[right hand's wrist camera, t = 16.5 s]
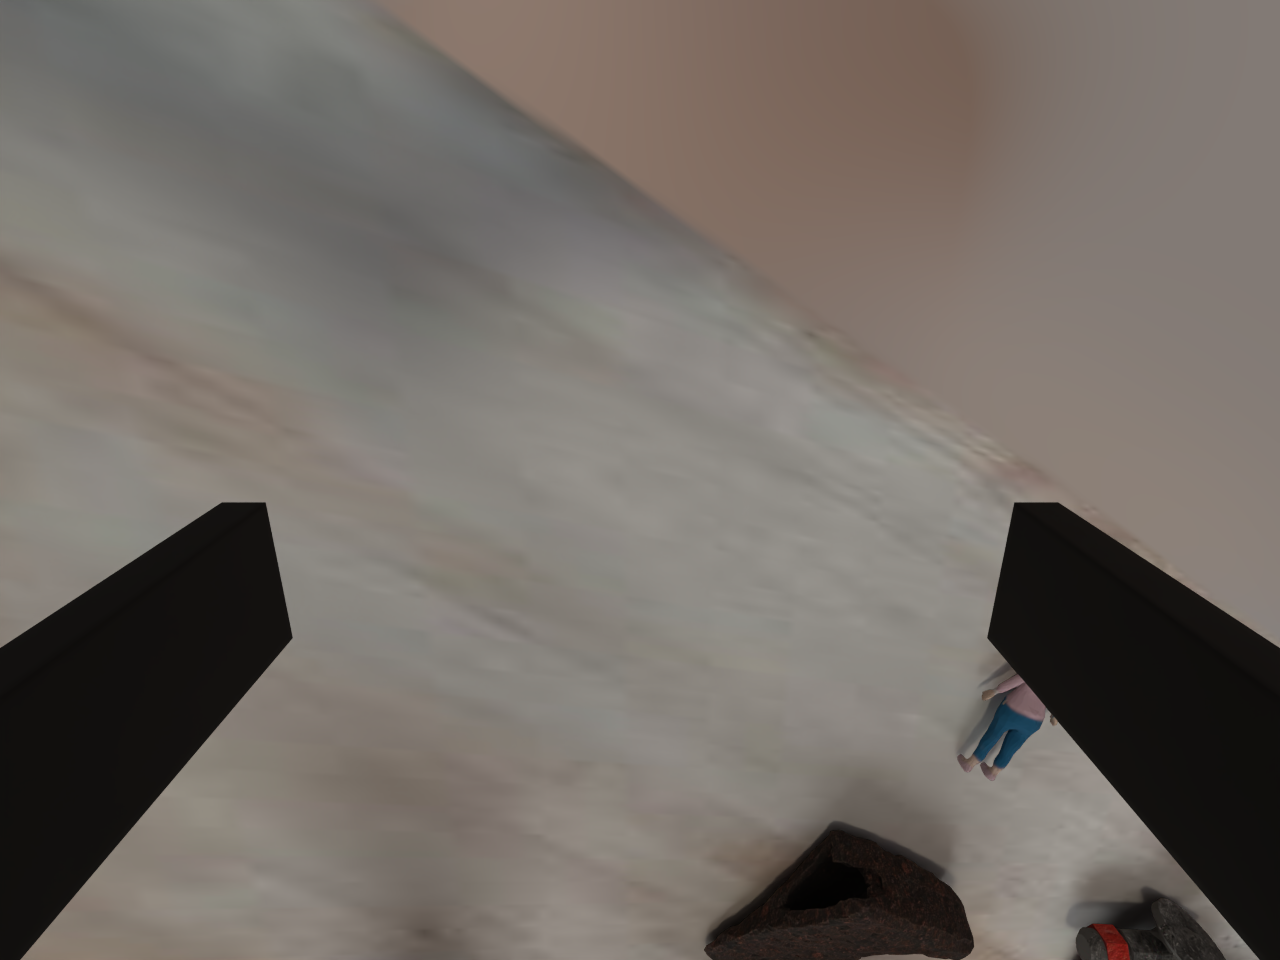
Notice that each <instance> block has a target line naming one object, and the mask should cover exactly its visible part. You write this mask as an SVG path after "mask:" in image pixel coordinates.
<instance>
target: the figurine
mask: <svg viewBox="0 0 1280 960" xmlns="http://www.w3.org/2000/svg"><path fill="white" fill-rule="evenodd" d="M1014 687H1016V689H1014V690H1013V691H1012V692H1011V693H1010V694H1008V695H1007V696H1006V697H1005V698H1004V700H1003V701H1002V703H1001V704H1000V706H999V707H998V709H997V711H996V713H995V716H994V719H993V721H992V722H991V724H990V726H989V728H988V730H987V731H986V733H985V734H984V735H983V737H982V738H981V740H980V742H979V745H978V746H977V748H976V750H975V751H974V753H973V754H972V756H971V757H970V758H969V759H966V758H965V757H964V756H963V755H961V754H960V755H958V757H957V759H958V761H959V764H960V765H961V767H962V768H963V769H964V771H965V772H970V771H971V770H972V768H973V767H974V765H976V764H978V763H980V762H981V761H982V760H983V759H984V758H985V757H986V755H987V753H988V752H989V751H990V750H991V748H992V747H993V746H994V745H995V744H996V743H997V741H998V740H999V739H1000V737H1001V736H1002V734H1003V733H1004V732H1005V731H1007V730H1009V731H1008V732H1007V734H1006V736H1005V738H1004V741H1003V744H1002V747H1001V750H1000V752H999V754H998V755H997V757H996V758H995V760H994V763H993V766H992V767H989V766H988V765H987V764H986V763H984V762H983V763H981V765H980V766H981V769H982V771H983V773H984V775H985V776H986V777H987V778H988V779H989V780H991V781H993V780H995V777H996V776H997V774H998V773H999V772H1000V771H1001V770H1002V769H1004V768H1005V767H1006V765H1007V764H1008V763H1009V761H1010V760H1011V758H1012V756H1013V754H1014V753H1015V752H1016V751H1017V750H1018V749H1019V748H1020V747H1021V746H1022V745H1023V743H1024V742H1025V741H1026V740H1027V739H1028V738H1029V737H1030V736H1031V735H1032V734H1033V733H1035V732H1036V731H1037V730H1039V728H1040V726H1041V724H1042V722H1043V720H1044V718H1045V708H1046V707H1045V705H1044V704H1043V703H1042V702H1041V701H1040V700H1039V698H1038V697H1037V696H1036V695H1035V694H1034V692H1033V691H1032V690H1031V689H1030V688H1029V687H1028V685H1027V684H1026V683H1025V682H1024V681H1023V679H1022V678H1021V677H1020V676H1019V675H1018V674H1016V675H1015V676H1013V677H1012V678H1010V679H1008V680H1006V681H1004V682H1002V683H1001V684H999V685H998V687H997V688H996V689H995V690H987V691H984V692H983V695H982V699H983V700H988V699H990V698H991V697H993V696H995V695H996V694H998V693H1002V692H1006V691H1008V690H1010V689H1012V688H1014ZM1050 718H1051V719H1050V722H1051V724H1052V725H1054V726H1055V725H1056V724H1057V723H1058V721H1057V720H1056V718H1055V717H1054V716H1053V715H1052V714H1051V716H1050Z"/></svg>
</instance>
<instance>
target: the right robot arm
mask: <svg viewBox="0 0 1280 960" xmlns="http://www.w3.org/2000/svg"><path fill="white" fill-rule="evenodd" d="M292 638H293V637H292V632H291V627H290V622H289V617H288V612H287V607H286V602H285V597H284V592H283V587H282V582H281V577H280V572H279V567H278V562H277V557H276V552H275V547H274V542H273V537H272V532H271V527H270V522H269V517H268V512H267V507H266V503H220V504H219V505H217V506H216V507H214V508H213V509H211V510H210V511H208V512H207V513H205V514H204V515H202V516H201V517H199V518H198V519H196V520H194V521H193V522H191V523H190V524H188V525H187V526H185V527H184V528H182V529H181V530H179V531H178V532H176V533H175V534H173V535H172V536H170V537H169V538H167V539H166V540H164V541H163V542H161V543H159V544H158V545H156V546H155V547H153V548H152V549H150V550H149V551H147V552H146V553H144V554H143V555H141V556H140V557H138V558H137V559H135V560H134V561H132V562H131V563H129V564H128V565H126V566H124V567H123V568H121V569H120V570H118V571H117V572H115V573H114V574H112V575H111V576H109V577H108V578H106V579H105V580H103V581H102V582H100V583H99V584H97V585H96V586H94V587H93V588H91V589H89V590H88V591H86V592H85V593H83V594H82V595H80V596H79V597H77V598H76V599H74V600H73V601H71V602H70V603H68V604H67V605H65V606H64V607H62V608H61V609H59V610H58V611H56V612H54V613H53V614H51V615H50V616H48V617H47V618H45V619H44V620H42V621H41V622H39V623H38V624H36V625H35V626H33V627H32V628H30V629H29V630H27V631H26V632H24V633H23V634H21V635H19V636H18V637H16V638H15V639H13V640H12V641H10V642H9V643H7V644H6V645H4V646H3V647H1V648H0V960H20V959H21V958H22V957H23V956H24V955H25V954H26V952H27V951H28V950H29V949H30V948H31V946H32V945H33V944H34V943H35V942H36V941H37V939H38V938H39V937H40V936H41V935H42V933H43V932H44V931H45V930H46V929H47V928H48V926H49V925H50V924H51V923H52V922H53V920H54V919H55V918H56V917H57V916H58V915H59V913H60V912H61V911H62V910H63V909H64V907H65V906H66V905H67V904H68V903H69V902H70V900H71V899H72V898H73V897H74V896H75V894H76V893H77V892H78V891H79V890H80V889H81V887H82V886H83V885H84V884H85V883H86V881H87V880H88V879H89V878H90V877H91V876H92V874H93V873H94V872H95V871H96V870H97V868H98V867H99V866H100V865H101V864H102V863H103V861H104V860H105V859H106V858H107V857H108V855H109V854H110V853H111V852H112V851H113V850H114V848H115V847H116V846H117V845H118V844H119V842H120V841H121V840H122V839H123V838H124V837H125V835H126V834H127V833H128V832H129V831H130V829H131V828H132V827H133V826H134V825H135V824H136V822H137V821H138V820H139V819H140V818H141V816H142V815H143V814H144V813H145V812H146V811H147V809H148V808H149V807H150V806H151V805H152V804H153V802H154V801H155V800H156V799H157V798H158V796H159V795H160V794H161V793H162V792H163V791H164V789H165V788H166V787H167V786H168V785H169V783H170V782H171V781H172V780H173V779H174V778H175V776H176V775H177V774H178V773H179V772H180V770H181V769H182V768H183V767H184V766H185V765H186V763H187V762H188V761H189V760H190V759H191V757H192V756H193V755H194V754H195V753H196V752H197V750H198V749H199V748H200V747H201V746H202V744H203V743H204V742H205V741H206V740H207V739H208V737H209V736H210V735H211V734H212V733H213V731H214V730H215V729H216V728H217V727H218V726H219V724H220V723H221V722H222V721H223V720H224V718H225V717H226V716H227V715H228V714H229V713H230V711H231V710H232V709H233V708H234V707H235V705H236V704H237V703H238V702H239V701H240V700H241V698H242V697H243V696H244V695H245V694H246V692H247V691H248V690H249V689H250V688H251V687H252V685H253V684H254V683H255V682H256V681H257V679H258V678H259V677H260V676H261V675H262V674H263V672H264V671H265V670H266V669H267V668H268V667H269V665H270V664H271V663H272V662H273V661H274V659H275V658H276V657H277V656H278V655H279V654H280V652H281V651H282V650H283V649H284V648H285V646H286V645H287V644H288V643H289V642H290V641H291V639H292ZM987 638H988V639H989V641H990V642H991V643H992V644H993V645H994V646H995V648H996V649H997V650H998V651H999V652H1000V654H1001V655H1002V656H1003V657H1004V658H1005V659H1006V661H1007V662H1008V663H1009V664H1010V665H1011V667H1012V668H1013V669H1014V670H1015V671H1016V672H1017V674H1018V675H1019V676H1020V677H1021V678H1022V679H1023V681H1024V682H1025V683H1026V684H1027V685H1028V687H1029V688H1030V689H1031V690H1032V691H1033V692H1034V694H1035V695H1036V696H1037V697H1038V698H1039V700H1040V701H1041V702H1042V703H1043V704H1044V705H1045V707H1046V708H1047V709H1048V710H1049V711H1050V713H1051V714H1052V715H1053V716H1054V717H1055V718H1056V720H1057V721H1058V722H1059V723H1060V724H1061V726H1062V727H1063V728H1064V729H1065V730H1066V731H1067V733H1068V734H1069V735H1070V736H1071V737H1072V739H1073V740H1074V741H1075V742H1076V743H1077V744H1078V746H1079V747H1080V748H1081V749H1082V750H1083V752H1084V753H1085V754H1086V755H1087V756H1088V757H1089V759H1090V760H1091V761H1092V762H1093V763H1094V765H1095V766H1096V767H1097V768H1098V769H1099V770H1100V772H1101V773H1102V774H1103V775H1104V776H1105V778H1106V779H1107V780H1108V781H1109V782H1110V783H1111V785H1112V786H1113V787H1114V788H1115V789H1116V791H1117V792H1118V793H1119V794H1120V795H1121V796H1122V798H1123V799H1124V800H1125V801H1126V802H1127V804H1128V805H1129V806H1130V807H1131V808H1132V809H1133V811H1134V812H1135V813H1136V814H1137V815H1138V816H1139V818H1140V819H1141V820H1142V821H1143V822H1144V824H1145V825H1146V826H1147V827H1148V828H1149V829H1150V831H1151V832H1152V833H1153V834H1154V835H1155V837H1156V838H1157V839H1158V840H1159V841H1160V842H1161V844H1162V845H1163V846H1164V847H1165V848H1166V850H1167V851H1168V852H1169V853H1170V854H1171V855H1172V857H1173V858H1174V859H1175V860H1176V861H1177V863H1178V864H1179V865H1180V866H1181V867H1182V868H1183V870H1184V871H1185V872H1186V873H1187V874H1188V876H1189V877H1190V878H1191V879H1192V880H1193V881H1194V883H1195V884H1196V885H1197V886H1198V887H1199V889H1200V890H1201V891H1202V892H1203V893H1204V894H1205V896H1206V897H1207V898H1208V899H1209V900H1210V902H1211V903H1212V904H1213V905H1214V906H1215V907H1216V909H1217V910H1218V911H1219V912H1220V913H1221V915H1222V916H1223V917H1224V918H1225V919H1226V920H1227V922H1228V923H1229V924H1230V925H1231V926H1232V928H1233V929H1234V930H1235V931H1236V932H1237V933H1238V935H1239V936H1240V937H1241V938H1242V939H1243V941H1244V942H1245V943H1246V944H1247V945H1248V946H1249V948H1250V949H1251V950H1252V951H1253V952H1254V954H1255V955H1256V956H1257V957H1258V958H1259V959H1260V960H1280V648H1279V647H1277V646H1276V645H1274V644H1273V643H1271V642H1270V641H1268V640H1267V639H1265V638H1264V637H1262V636H1261V635H1259V634H1257V633H1256V632H1254V631H1253V630H1251V629H1250V628H1248V627H1247V626H1245V625H1244V624H1242V623H1241V622H1239V621H1238V620H1236V619H1235V618H1233V617H1232V616H1230V615H1229V614H1227V613H1226V612H1224V611H1222V610H1221V609H1219V608H1218V607H1216V606H1215V605H1213V604H1212V603H1210V602H1209V601H1207V600H1206V599H1204V598H1203V597H1201V596H1200V595H1198V594H1197V593H1195V592H1194V591H1192V590H1191V589H1189V588H1187V587H1186V586H1184V585H1183V584H1181V583H1180V582H1178V581H1177V580H1175V579H1174V578H1172V577H1171V576H1169V575H1168V574H1166V573H1165V572H1163V571H1162V570H1160V569H1159V568H1157V567H1156V566H1154V565H1152V564H1151V563H1149V562H1148V561H1146V560H1145V559H1143V558H1142V557H1140V556H1139V555H1137V554H1136V553H1134V552H1133V551H1131V550H1130V549H1128V548H1127V547H1125V546H1124V545H1122V544H1121V543H1119V542H1117V541H1116V540H1114V539H1113V538H1111V537H1110V536H1108V535H1107V534H1105V533H1104V532H1102V531H1101V530H1099V529H1098V528H1096V527H1095V526H1093V525H1092V524H1090V523H1089V522H1087V521H1086V520H1084V519H1082V518H1081V517H1079V516H1078V515H1076V514H1075V513H1073V512H1072V511H1070V510H1069V509H1067V508H1066V507H1064V506H1063V505H1061V504H1060V503H1014V507H1013V512H1012V517H1011V522H1010V527H1009V532H1008V537H1007V542H1006V547H1005V552H1004V557H1003V562H1002V567H1001V572H1000V577H999V582H998V587H997V592H996V597H995V602H994V607H993V612H992V617H991V622H990V627H989V632H988V637H987Z"/></svg>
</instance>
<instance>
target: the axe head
mask: <svg viewBox="0 0 1280 960" xmlns="http://www.w3.org/2000/svg"><path fill="white" fill-rule="evenodd" d="M973 948H974V941H973V936H972V933H971V930H970V927H969V924H968V921H967V917H966V913H965V909H964V906H963V904H962V902H961V900H960V899H959V897H958V896H957V895H956V893H955V892H954V891H953V890H952V889H951V887H950V886H948V885H947V884H945V883H944V882H942V881H941V880H939V879H937V878H936V877H935V876H934V875H933V873H931V872H928V871H926V870H924V869H922V868H920V867H919V866H917V865H916V864H915V863H914V862H912V861H910V860H909V859H907V858H905V857H903V856H902V855H896V856H894V855H893V854H891V853H889V852H887V851H884V850H883V849H882V848H881V847H880V846H879V845H878V844H877V843H875V842H873V841H870V840H866V839H861V838H857V837H854V836H852V835H849V834H847V833H845V832H844V831H841V830H835V831H830V834H829V836H828V837H827V838H826V839H825V840H824V841H823V842H822V843H821V844H820V845H818V846H817V847H816V849H814V850H813V851H812V852H811V853H810V854H809V856H808V857H807V858H806V859H805V860H804V862H803V863H802V864H801V865H800V866H799V867H798V868H797V870H796V871H795V872H794V873H793V874H792V875H791V876H790V878H789V879H788V880H787V881H786V882H785V883H784V884H783V885H782V886H781V887H780V888H778V889H777V890H776V892H775V893H774V894H773V895H772V896H771V897H770V898H769V899H768V900H767V902H766V903H765V904H764V905H763V906H760V907H759V908H758V909H756V910H755V911H754V912H753V913H751V914H750V915H749V916H748V917H746V918H745V919H744V920H743V921H742V922H741V923H740V924H739V925H736V926H732V927H730V928H728V929H727V930H725V931H724V932H722V933H721V934H720V935H719V936H718V937H717V938H716V940H715V941H713V942H712V943H710V944H708V945H707V946H706V947H705V949H704V951H705V952H706V954H707V955H708V956H709V957H710V958H711V959H712V960H859V959H861V957H867V956H872V955H883V954H889V955H907V954H924V955H926V956H928V957H934V958H941V959H952V960H960V959H963V958H965V957H966V956H968V955H969V954H970V953H971V951H972V949H973Z"/></svg>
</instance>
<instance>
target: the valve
mask: <svg viewBox="0 0 1280 960" xmlns="http://www.w3.org/2000/svg"><path fill="white" fill-rule="evenodd" d="M1151 909H1152V914H1153V917H1154V919H1155V921H1156V923H1157V926H1156V928H1154V929H1152V930H1135V929H1116V928H1115V927H1114V926H1113V925H1110V924H1091V925H1089V926H1088V927H1082V928H1081V929H1080V931H1079V933H1078V935H1077V937H1076V947H1077V951H1078V953H1079V956H1080V957H1081V959H1082V960H1226V959H1225V958H1224V956H1223V954H1222V953H1221V951H1220V950H1219V949H1218V947H1217V946H1216V944H1215V943H1214V942H1213V941H1212V939H1211V938H1210V937H1209V935H1208V934H1207V933H1206V932H1205V931H1204V930H1203V929H1202V927H1201V926H1200V925H1199V924H1198V923H1197V922H1196V921H1195V920H1194V919H1193V918H1192V917H1191V916H1190V915H1189V914H1188V913H1187V912H1185V911H1184V910H1183V909H1182V908H1181V907H1179V906H1178V905H1177V904H1175V903H1174V902H1172V901H1170V900H1168V899H1165V898H1161V899H1158V900H1157V901H1155V902H1153V903H1152V905H1151Z"/></svg>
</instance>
